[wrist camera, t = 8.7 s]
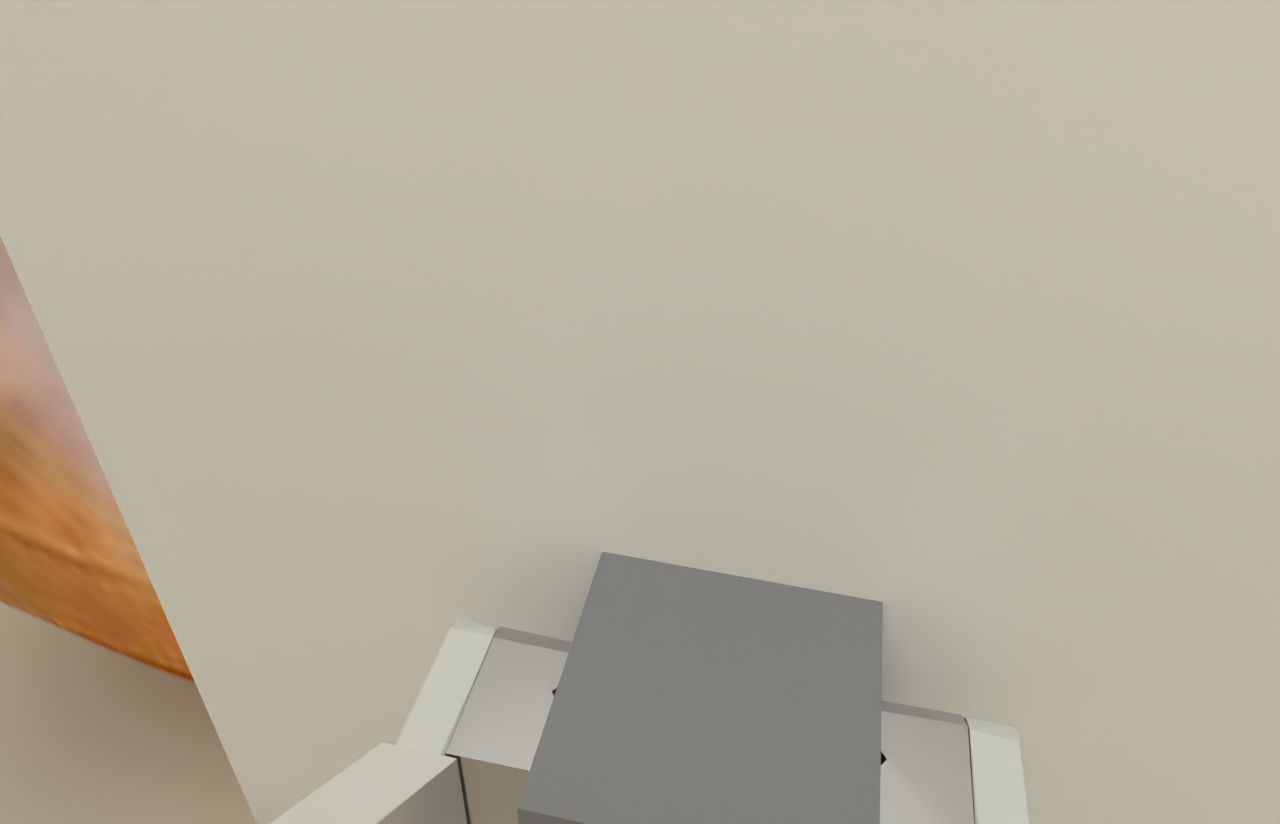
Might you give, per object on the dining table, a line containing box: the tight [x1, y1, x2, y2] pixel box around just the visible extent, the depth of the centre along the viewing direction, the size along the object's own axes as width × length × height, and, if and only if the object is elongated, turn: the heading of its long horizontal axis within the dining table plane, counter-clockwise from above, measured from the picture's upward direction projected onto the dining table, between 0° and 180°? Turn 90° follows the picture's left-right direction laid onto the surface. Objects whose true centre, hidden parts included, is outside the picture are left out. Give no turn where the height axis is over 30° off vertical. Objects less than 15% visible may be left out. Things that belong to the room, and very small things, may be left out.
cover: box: [0, 0, 1280, 824], centre depth 13 cm, size 15×15×11 cm
